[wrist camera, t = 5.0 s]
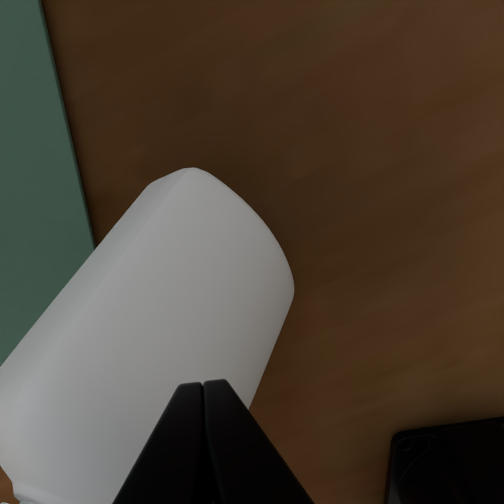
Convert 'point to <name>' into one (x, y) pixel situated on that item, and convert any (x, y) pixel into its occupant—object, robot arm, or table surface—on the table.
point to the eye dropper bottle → (140, 337)
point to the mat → (35, 177)
